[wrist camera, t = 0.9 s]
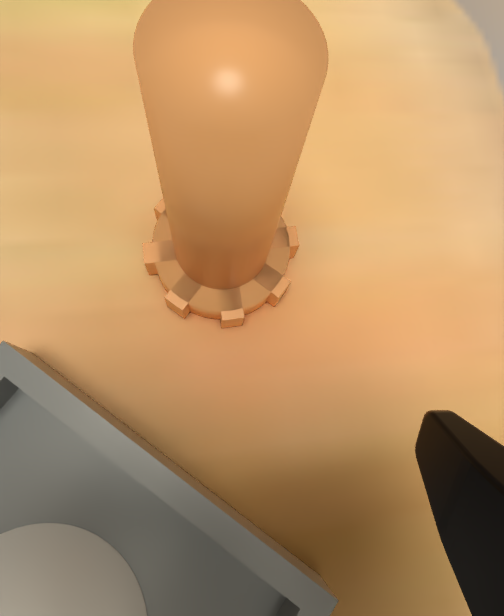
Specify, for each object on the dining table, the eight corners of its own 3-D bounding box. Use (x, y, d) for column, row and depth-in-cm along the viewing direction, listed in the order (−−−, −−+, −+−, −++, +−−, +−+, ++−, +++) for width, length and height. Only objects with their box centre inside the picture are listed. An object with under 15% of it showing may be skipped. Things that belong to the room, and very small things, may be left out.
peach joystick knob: (320, 245, 24) (443, 34, 11) (236, 357, 22) (270, 259, 9) (207, 166, 24) (202, -119, 12) (117, 269, 22) (-5, 63, 10)
